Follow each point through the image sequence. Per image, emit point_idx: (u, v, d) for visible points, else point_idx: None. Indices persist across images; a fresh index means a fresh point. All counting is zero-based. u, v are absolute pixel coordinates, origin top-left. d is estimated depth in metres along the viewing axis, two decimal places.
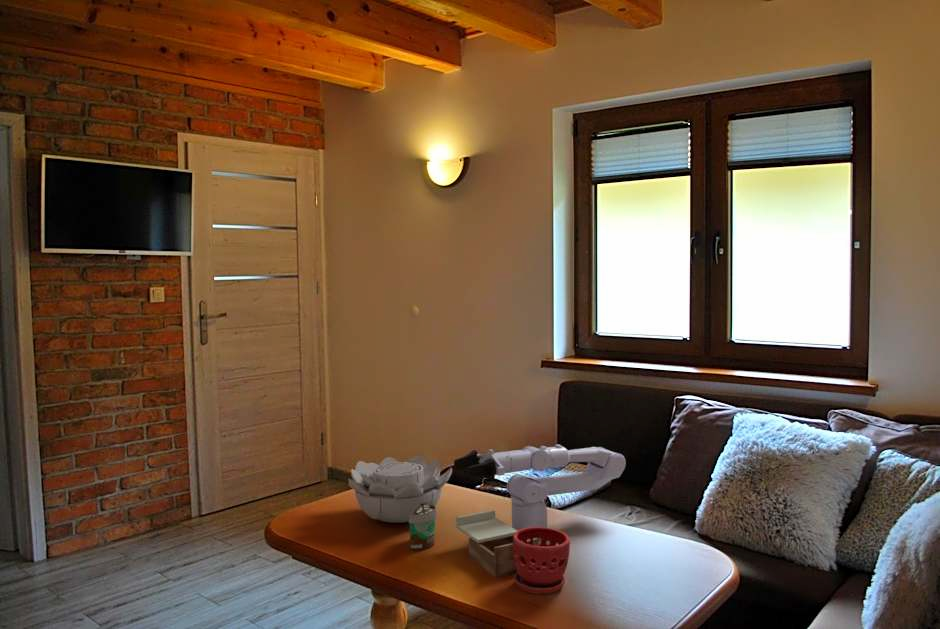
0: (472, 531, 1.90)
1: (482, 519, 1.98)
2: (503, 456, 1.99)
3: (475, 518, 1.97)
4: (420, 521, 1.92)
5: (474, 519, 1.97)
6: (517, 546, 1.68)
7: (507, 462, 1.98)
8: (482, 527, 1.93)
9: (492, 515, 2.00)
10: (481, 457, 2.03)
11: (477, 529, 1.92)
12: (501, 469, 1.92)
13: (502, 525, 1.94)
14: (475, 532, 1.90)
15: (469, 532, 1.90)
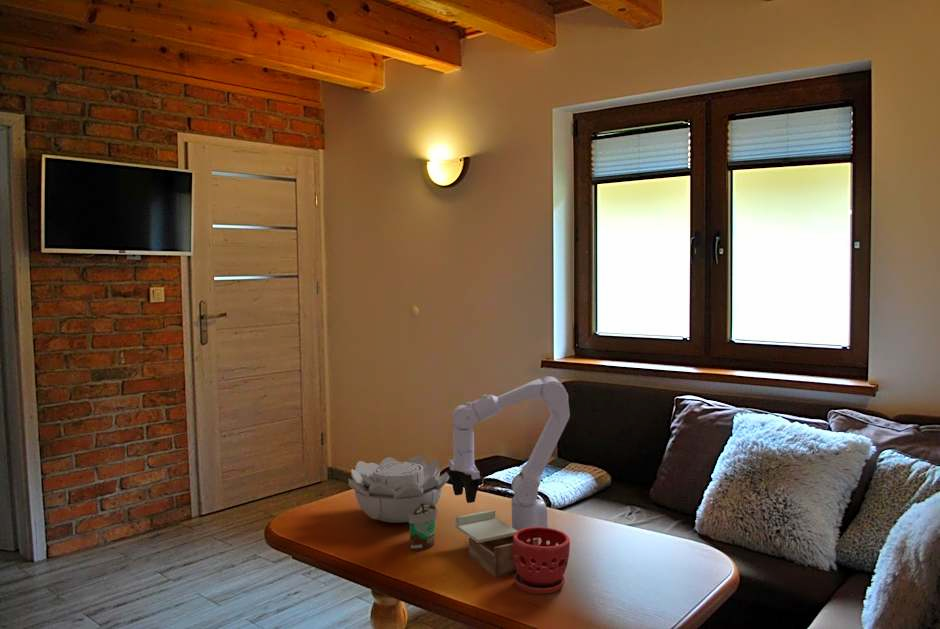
0: (472, 531, 1.90)
1: (482, 519, 1.98)
2: (459, 458, 2.00)
3: (475, 518, 1.97)
4: (420, 521, 1.92)
5: (474, 519, 1.97)
6: (517, 546, 1.68)
7: (465, 456, 2.00)
8: (482, 527, 1.93)
9: (492, 515, 2.00)
10: None
11: (477, 529, 1.92)
12: (474, 475, 1.96)
13: (502, 525, 1.94)
14: (475, 532, 1.90)
15: (469, 532, 1.90)
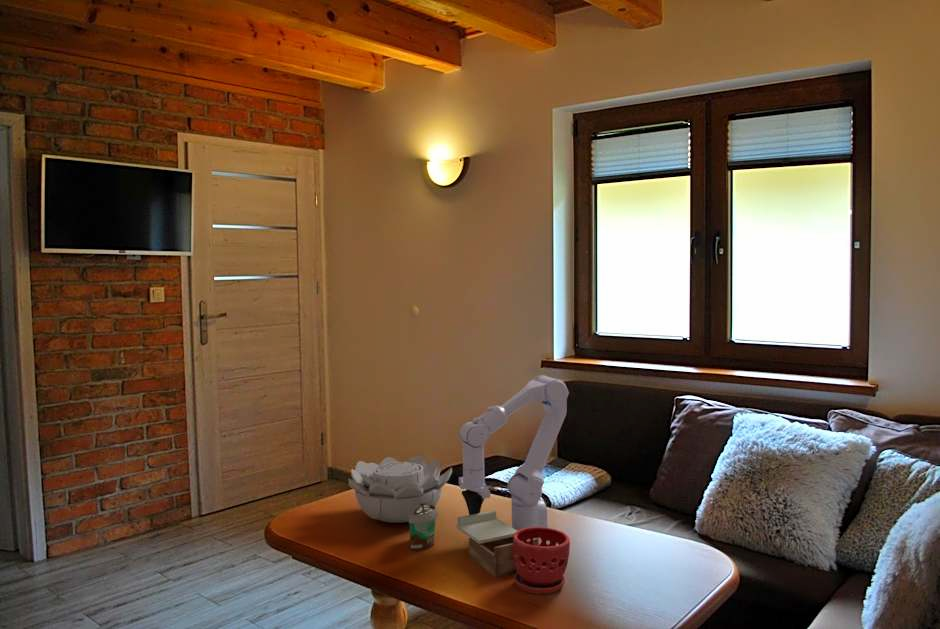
0: (473, 532, 1.90)
1: (483, 520, 1.98)
2: (468, 476, 1.96)
3: (477, 519, 1.97)
4: (420, 521, 1.92)
5: (475, 520, 1.97)
6: (517, 546, 1.68)
7: (475, 474, 1.95)
8: (484, 528, 1.93)
9: (493, 516, 1.99)
10: None
11: (478, 530, 1.91)
12: (484, 495, 1.92)
13: (504, 526, 1.94)
14: (476, 533, 1.89)
15: (470, 533, 1.89)
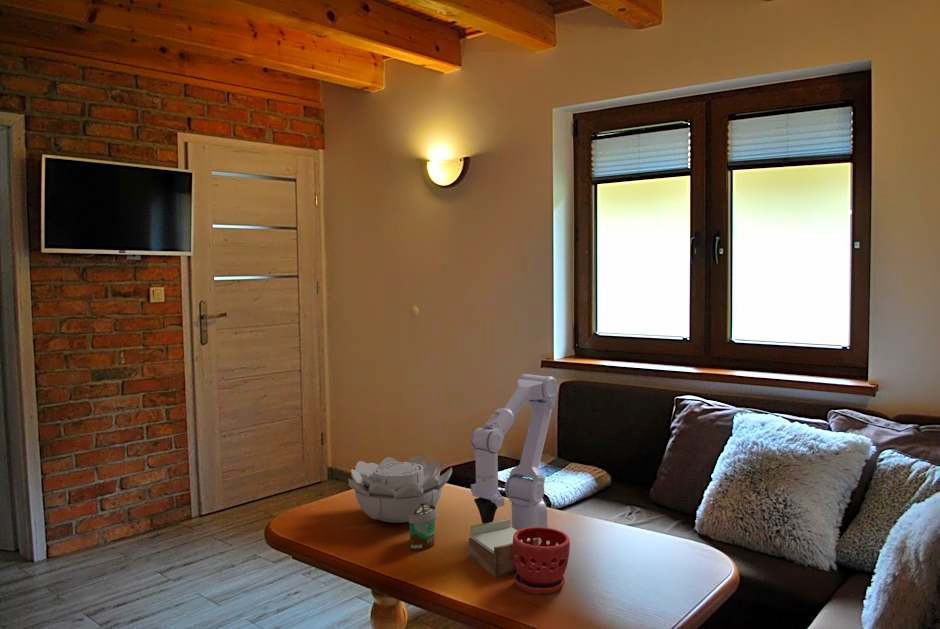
0: (487, 541, 1.83)
1: (497, 528, 1.91)
2: (482, 484, 1.89)
3: (490, 528, 1.90)
4: (420, 521, 1.92)
5: (489, 529, 1.90)
6: (517, 546, 1.68)
7: (489, 481, 1.89)
8: (498, 537, 1.86)
9: (507, 524, 1.93)
10: None
11: (491, 539, 1.85)
12: (499, 503, 1.85)
13: None
14: (490, 542, 1.83)
15: (484, 542, 1.83)
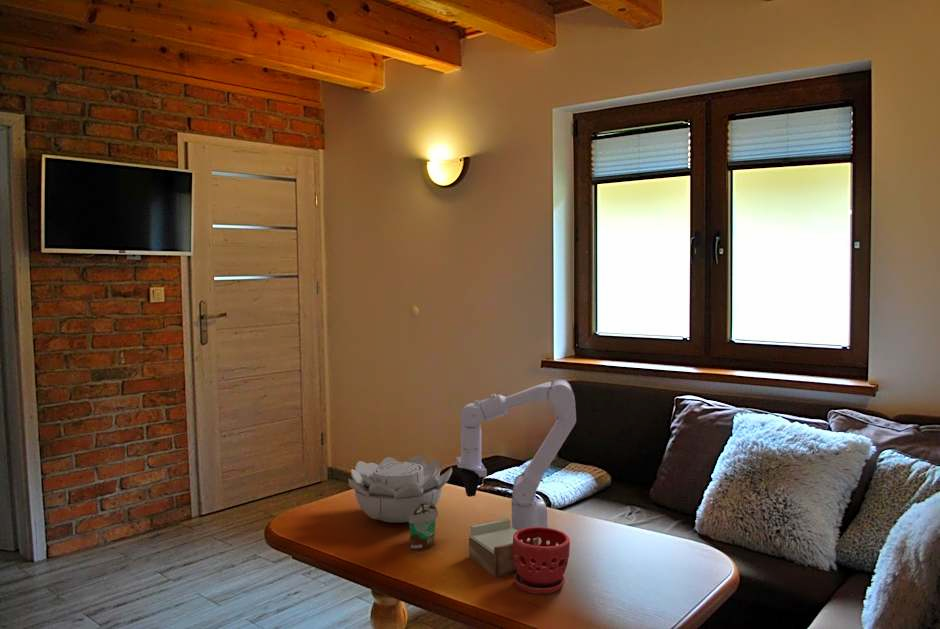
0: (487, 541, 1.83)
1: (497, 528, 1.91)
2: (466, 455, 2.03)
3: (490, 528, 1.90)
4: (420, 521, 1.92)
5: (489, 529, 1.90)
6: (517, 546, 1.68)
7: (473, 453, 2.02)
8: (498, 537, 1.86)
9: (507, 524, 1.92)
10: None
11: (492, 539, 1.85)
12: (481, 473, 1.99)
13: None
14: (490, 542, 1.83)
15: (484, 542, 1.83)
